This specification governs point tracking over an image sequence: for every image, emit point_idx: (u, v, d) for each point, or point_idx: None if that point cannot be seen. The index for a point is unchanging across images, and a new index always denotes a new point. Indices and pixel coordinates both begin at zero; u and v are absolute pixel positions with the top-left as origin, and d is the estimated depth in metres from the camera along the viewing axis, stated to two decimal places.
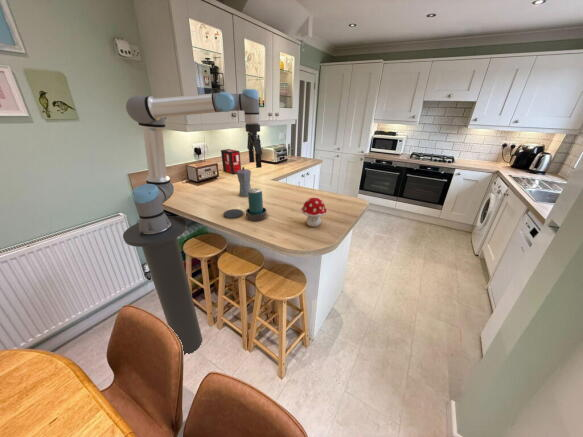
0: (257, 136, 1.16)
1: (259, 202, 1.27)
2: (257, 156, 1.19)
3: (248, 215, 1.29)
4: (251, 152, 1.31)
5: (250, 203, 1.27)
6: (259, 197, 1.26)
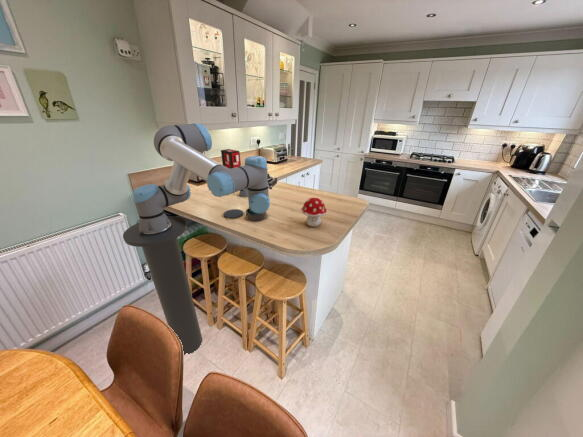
0: None
1: None
2: None
3: (248, 215, 1.29)
4: None
5: None
6: None
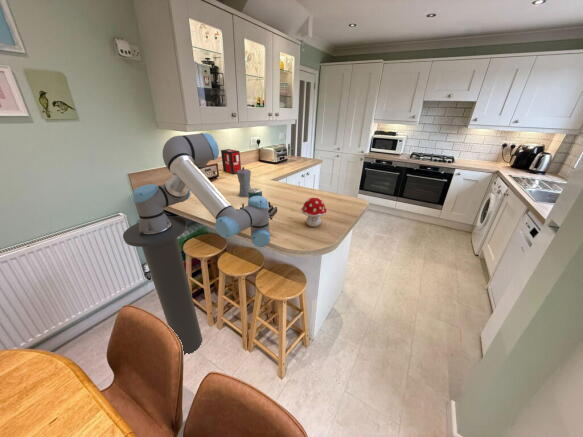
0: None
1: None
2: (241, 209, 1.16)
3: None
4: (269, 208, 1.19)
5: None
6: None
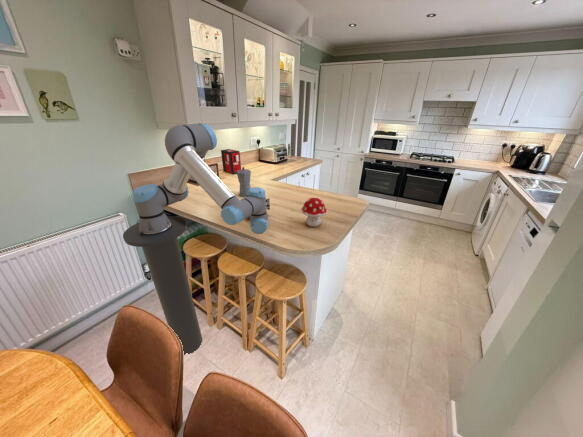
0: None
1: None
2: None
3: None
4: None
5: None
6: None
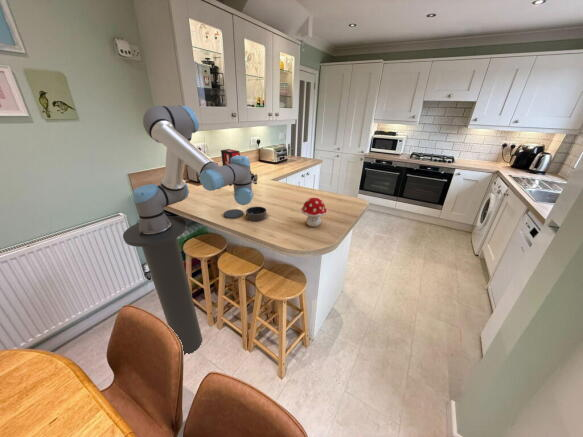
0: None
1: None
2: None
3: (248, 215, 1.29)
4: None
5: None
6: None
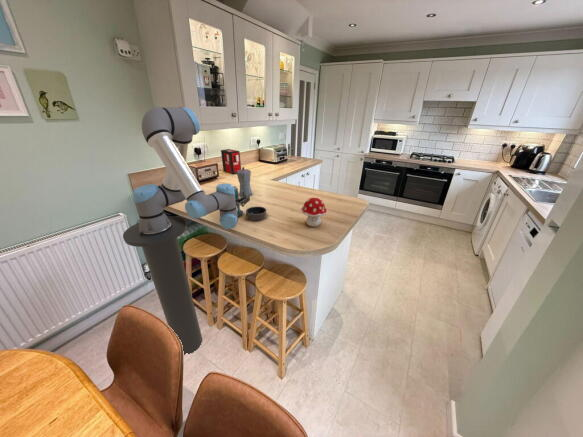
0: None
1: None
2: None
3: (248, 215, 1.29)
4: None
5: None
6: None
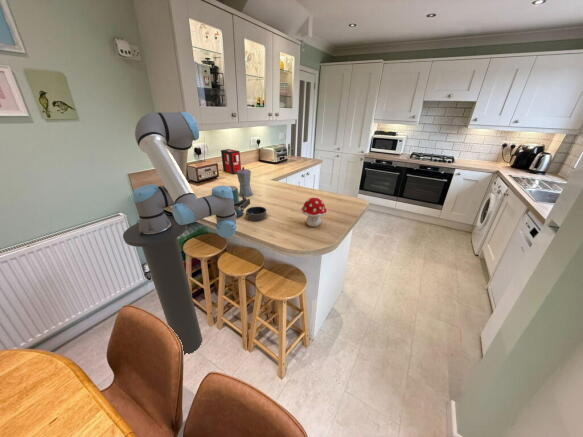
0: None
1: (235, 199, 1.29)
2: None
3: (248, 215, 1.29)
4: None
5: None
6: (234, 194, 1.28)
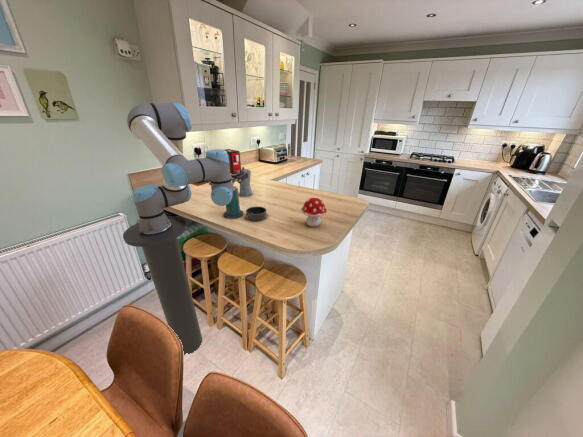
0: (208, 182, 1.01)
1: (235, 199, 1.29)
2: None
3: (248, 215, 1.29)
4: None
5: None
6: (234, 194, 1.28)
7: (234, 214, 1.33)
